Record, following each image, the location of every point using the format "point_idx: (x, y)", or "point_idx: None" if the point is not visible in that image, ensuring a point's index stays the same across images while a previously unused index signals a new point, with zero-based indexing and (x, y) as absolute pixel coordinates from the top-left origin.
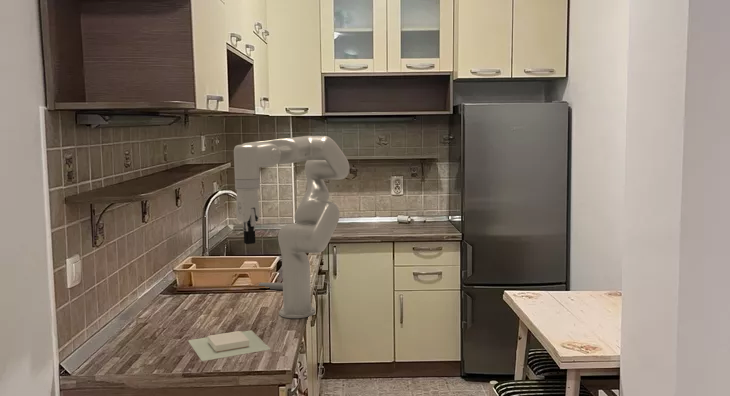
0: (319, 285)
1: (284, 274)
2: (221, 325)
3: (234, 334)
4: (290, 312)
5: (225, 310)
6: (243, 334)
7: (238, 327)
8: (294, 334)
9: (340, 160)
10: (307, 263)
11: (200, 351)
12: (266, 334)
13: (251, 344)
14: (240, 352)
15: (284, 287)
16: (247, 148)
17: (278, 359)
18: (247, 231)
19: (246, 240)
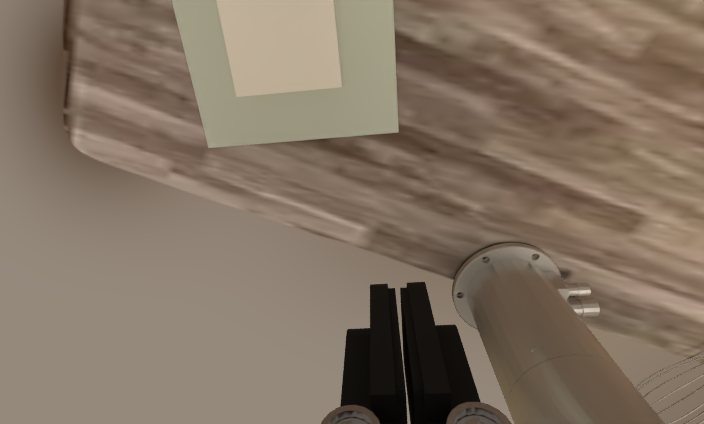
0: (654, 403)
1: (556, 346)
2: (522, 48)
3: (308, 61)
4: (483, 271)
5: (697, 93)
6: (298, 90)
7: (467, 101)
8: (326, 234)
9: None
10: None
11: None
12: (357, 167)
13: (264, 104)
14: (202, 58)
15: (536, 309)
16: None
17: (144, 150)
18: (341, 420)
19: (371, 315)
